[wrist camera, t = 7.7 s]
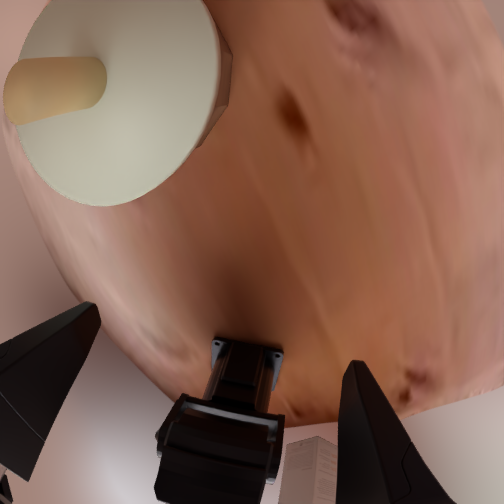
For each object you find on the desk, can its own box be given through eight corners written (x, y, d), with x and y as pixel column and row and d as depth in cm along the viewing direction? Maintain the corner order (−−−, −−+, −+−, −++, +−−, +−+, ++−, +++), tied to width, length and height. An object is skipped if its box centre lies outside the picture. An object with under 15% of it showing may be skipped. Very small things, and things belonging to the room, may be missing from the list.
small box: (285, 443, 36) (275, 507, 27) (318, 434, 34) (311, 505, 25) (317, 458, 38) (311, 516, 29) (348, 450, 36) (345, 512, 27)
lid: (220, 203, 16) (167, 273, 10) (45, 184, 18) (-24, 226, 12) (242, -38, 9) (195, -105, 3) (46, 6, 11) (-31, 4, 5)
